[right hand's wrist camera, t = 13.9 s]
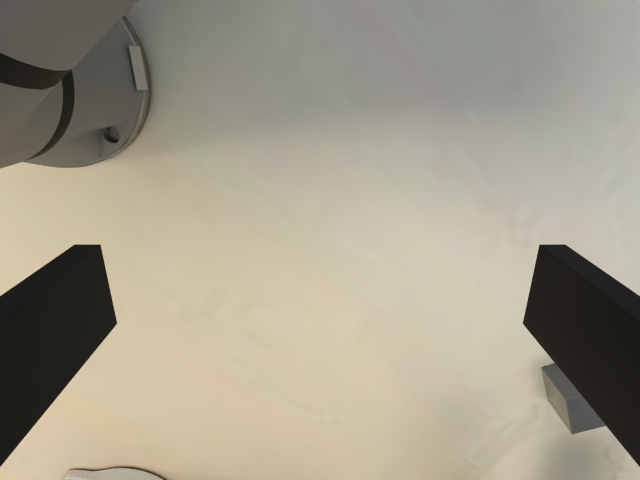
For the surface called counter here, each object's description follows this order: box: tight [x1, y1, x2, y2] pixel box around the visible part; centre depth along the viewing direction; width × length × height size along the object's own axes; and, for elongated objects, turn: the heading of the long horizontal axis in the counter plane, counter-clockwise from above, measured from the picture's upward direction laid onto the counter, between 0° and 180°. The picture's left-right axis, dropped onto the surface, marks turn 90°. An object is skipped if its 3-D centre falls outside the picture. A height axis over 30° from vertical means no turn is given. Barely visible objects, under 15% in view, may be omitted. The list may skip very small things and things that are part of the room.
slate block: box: [542, 364, 606, 434], centre depth 45 cm, size 5×5×5 cm
